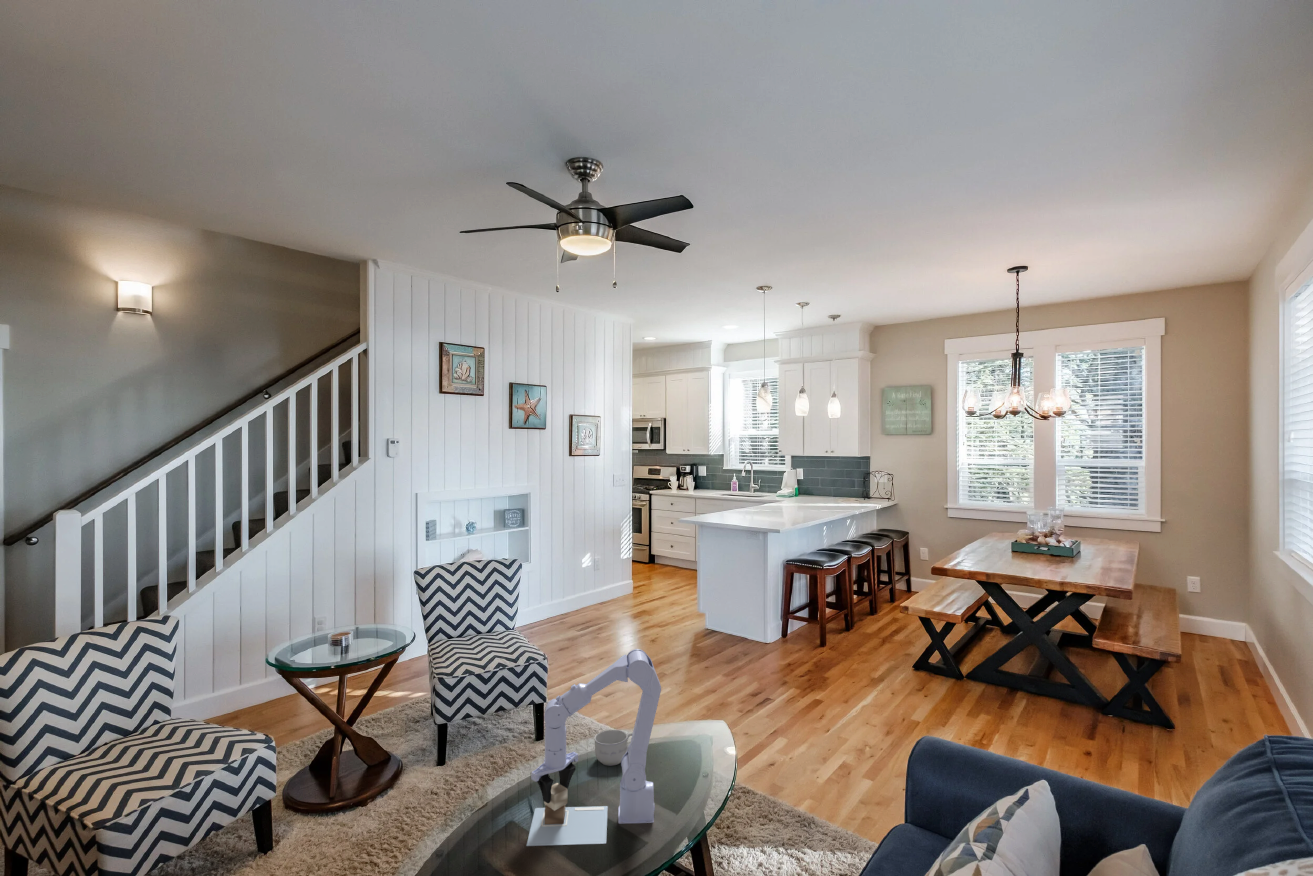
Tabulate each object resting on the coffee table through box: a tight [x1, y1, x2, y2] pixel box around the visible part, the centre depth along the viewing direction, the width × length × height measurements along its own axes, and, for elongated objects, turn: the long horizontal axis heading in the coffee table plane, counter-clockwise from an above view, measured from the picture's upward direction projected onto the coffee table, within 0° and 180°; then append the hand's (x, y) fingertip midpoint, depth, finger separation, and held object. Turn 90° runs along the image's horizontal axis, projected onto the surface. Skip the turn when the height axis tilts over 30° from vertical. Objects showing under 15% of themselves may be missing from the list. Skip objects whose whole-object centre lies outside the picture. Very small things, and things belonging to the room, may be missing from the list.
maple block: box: [543, 782, 569, 811], centre depth 167 cm, size 4×4×4 cm
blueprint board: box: [525, 805, 609, 847], centre depth 164 cm, size 20×16×1 cm
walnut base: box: [544, 805, 566, 824], centre depth 167 cm, size 5×5×4 cm
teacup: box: [593, 729, 633, 767], centre depth 199 cm, size 14×11×8 cm
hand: (555, 797), depth 167 cm, fingers open, 5 cm apart
